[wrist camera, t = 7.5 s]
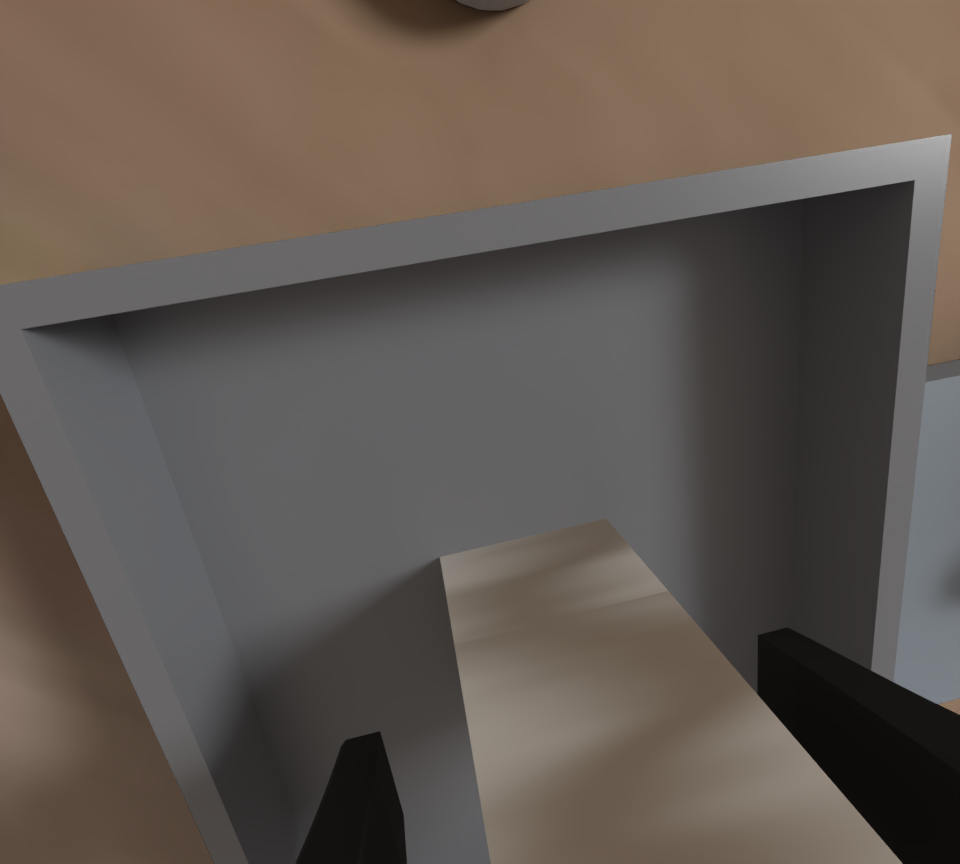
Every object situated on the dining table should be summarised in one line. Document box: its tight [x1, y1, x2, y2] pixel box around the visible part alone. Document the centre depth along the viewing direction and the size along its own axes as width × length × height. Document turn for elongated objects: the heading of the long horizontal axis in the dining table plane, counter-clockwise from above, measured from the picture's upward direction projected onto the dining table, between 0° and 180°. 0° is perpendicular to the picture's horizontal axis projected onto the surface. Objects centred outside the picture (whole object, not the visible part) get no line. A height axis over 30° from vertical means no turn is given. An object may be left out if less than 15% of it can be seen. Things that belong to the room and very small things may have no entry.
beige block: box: [440, 519, 903, 864], centre depth 9 cm, size 4×4×8 cm
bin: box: [0, 134, 952, 864], centre depth 12 cm, size 18×15×3 cm
